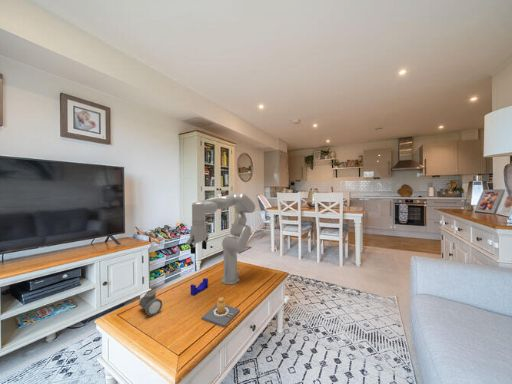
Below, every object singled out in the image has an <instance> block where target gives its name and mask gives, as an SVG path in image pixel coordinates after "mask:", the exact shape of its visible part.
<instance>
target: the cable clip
mask: <svg viewBox="0 0 512 384" xmlns="http://www.w3.org/2000/svg"><path fill="white" fill-rule="evenodd" d="M208 288H209V279H208V278H206V277H203V278H202V282H200V283H199V284H198V286H197V284H190V295H191V296H193V297H194V296H196V295H197V294H200V293H201V292H203V291H205V290H207V289H208Z"/></svg>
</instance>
